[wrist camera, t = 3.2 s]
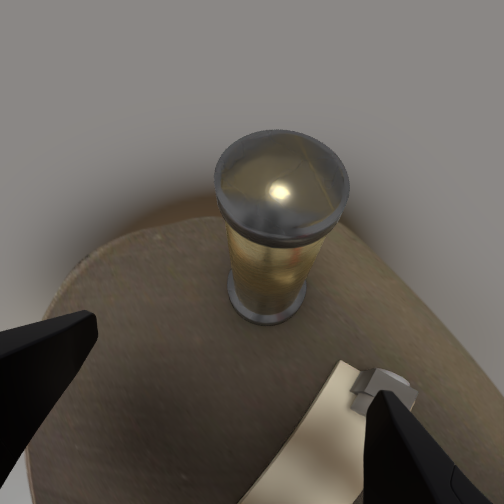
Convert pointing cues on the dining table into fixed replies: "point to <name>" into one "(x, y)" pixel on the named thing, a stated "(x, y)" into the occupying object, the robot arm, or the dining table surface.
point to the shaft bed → (328, 442)
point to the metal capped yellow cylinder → (276, 217)
